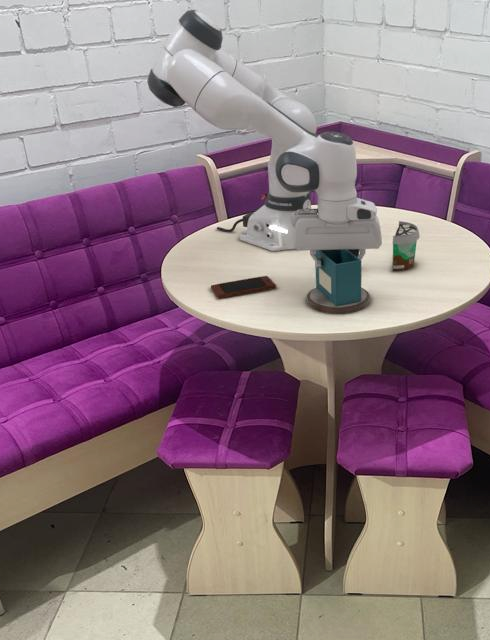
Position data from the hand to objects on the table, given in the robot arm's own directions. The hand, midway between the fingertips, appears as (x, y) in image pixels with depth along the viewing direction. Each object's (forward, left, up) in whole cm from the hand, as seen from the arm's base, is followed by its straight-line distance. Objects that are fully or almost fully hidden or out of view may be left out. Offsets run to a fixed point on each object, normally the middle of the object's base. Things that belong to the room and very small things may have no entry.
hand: (338, 266), depth 175 cm
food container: (+4, +28, -9) cm, 30 cm away
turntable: (0, 0, -9) cm, 9 cm away
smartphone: (-24, -6, -9) cm, 26 cm away
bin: (0, 0, -7) cm, 7 cm away
